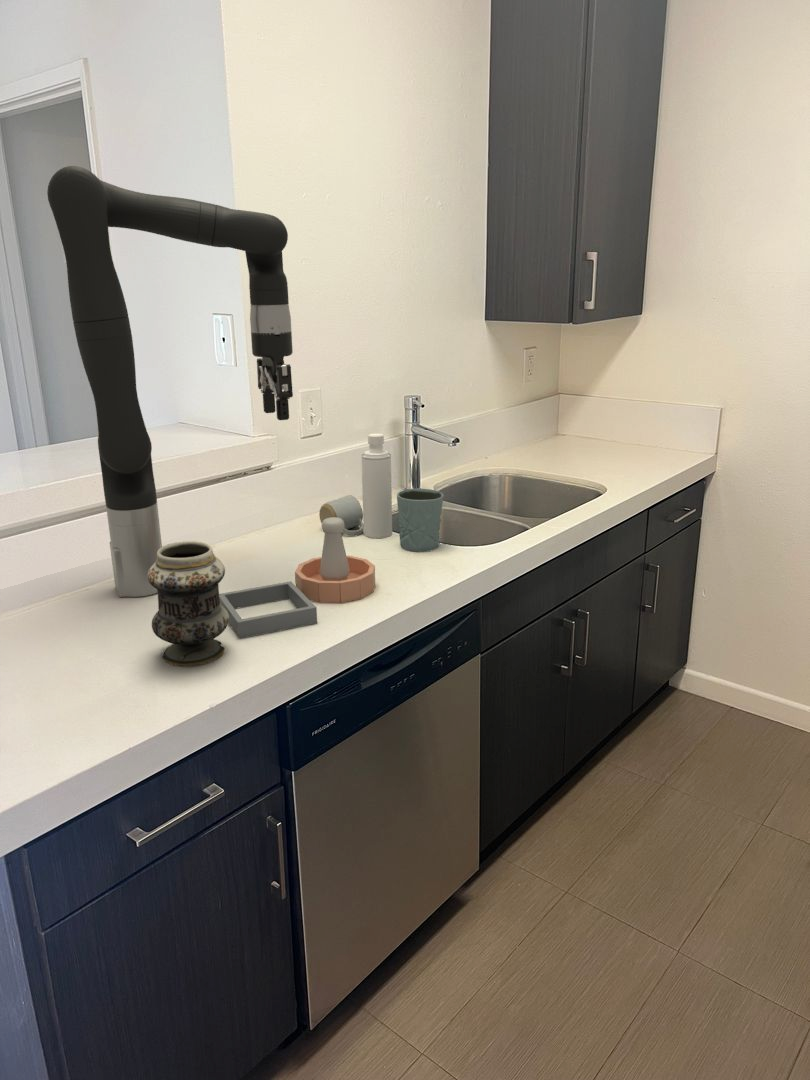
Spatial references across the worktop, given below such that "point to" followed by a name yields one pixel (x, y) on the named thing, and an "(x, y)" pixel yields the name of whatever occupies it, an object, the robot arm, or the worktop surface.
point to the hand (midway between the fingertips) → (276, 416)
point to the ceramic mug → (344, 513)
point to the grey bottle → (376, 489)
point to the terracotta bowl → (336, 591)
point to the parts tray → (268, 622)
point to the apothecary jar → (188, 603)
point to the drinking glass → (419, 519)
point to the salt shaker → (333, 551)
